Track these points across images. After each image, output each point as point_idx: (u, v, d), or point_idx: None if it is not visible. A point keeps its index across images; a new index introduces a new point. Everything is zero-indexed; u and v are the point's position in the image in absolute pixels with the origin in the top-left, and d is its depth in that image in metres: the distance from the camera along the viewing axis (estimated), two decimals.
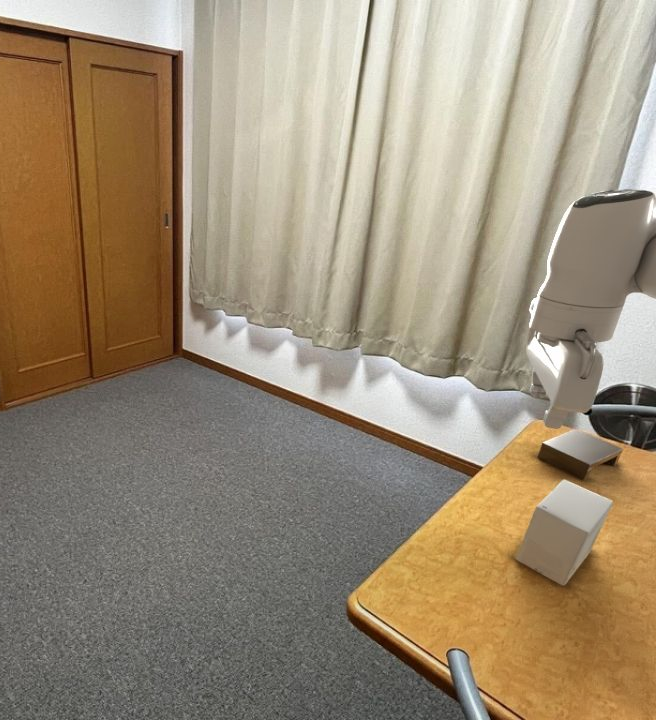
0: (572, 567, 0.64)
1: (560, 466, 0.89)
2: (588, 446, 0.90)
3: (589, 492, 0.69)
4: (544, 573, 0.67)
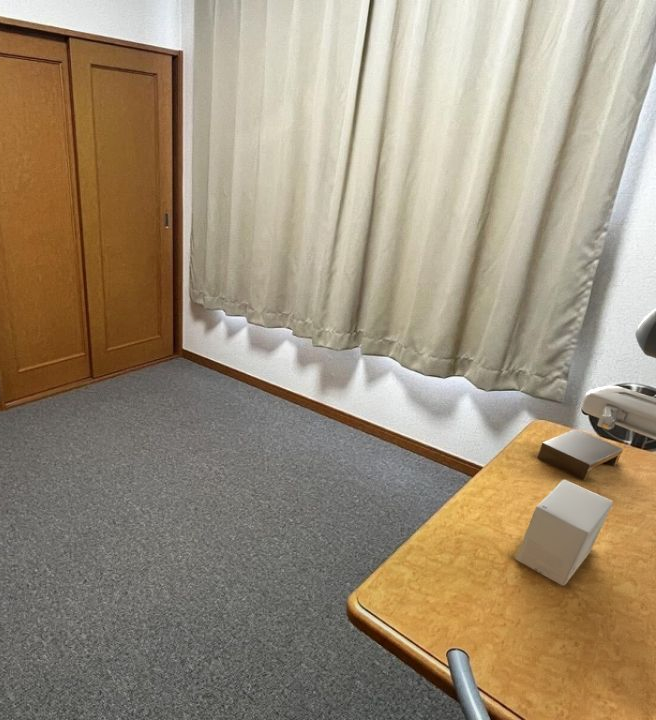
0: (572, 567, 0.64)
1: (560, 466, 0.89)
2: (588, 446, 0.90)
3: (589, 492, 0.69)
4: (544, 573, 0.67)
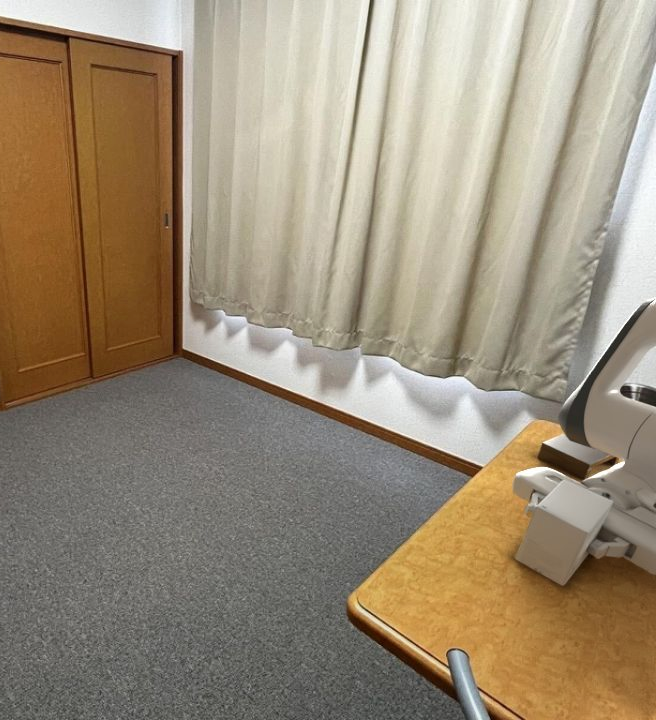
0: (572, 567, 0.64)
1: (560, 466, 0.89)
2: None
3: (589, 492, 0.69)
4: (544, 573, 0.67)
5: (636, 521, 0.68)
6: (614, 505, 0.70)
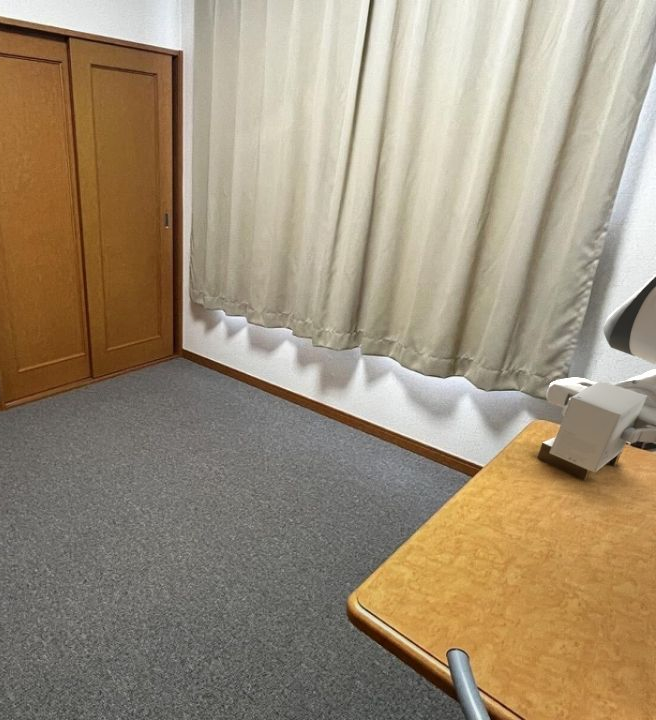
0: (604, 451, 0.70)
1: (560, 466, 0.89)
2: None
3: (624, 389, 0.74)
4: (578, 461, 0.73)
5: None
6: (645, 402, 0.76)
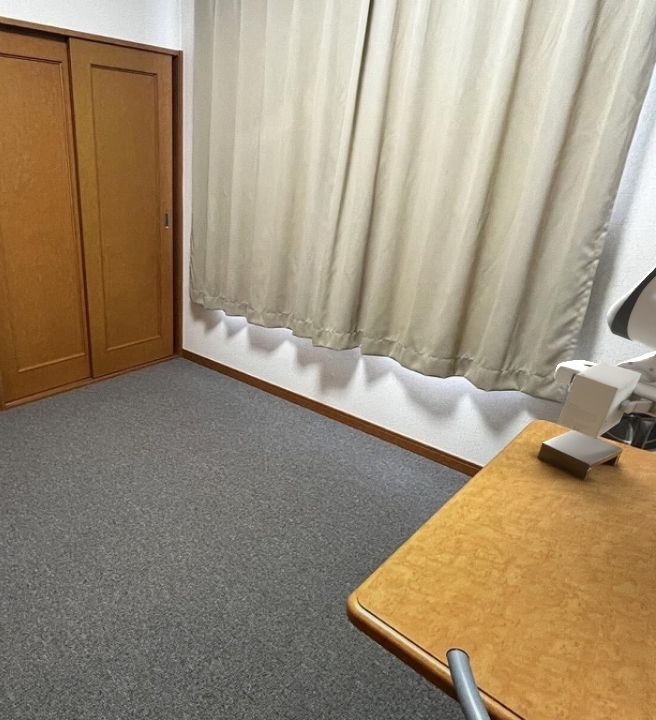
0: (604, 420, 0.82)
1: (560, 466, 0.89)
2: (588, 446, 0.90)
3: (621, 368, 0.86)
4: (581, 429, 0.85)
5: None
6: (640, 380, 0.88)
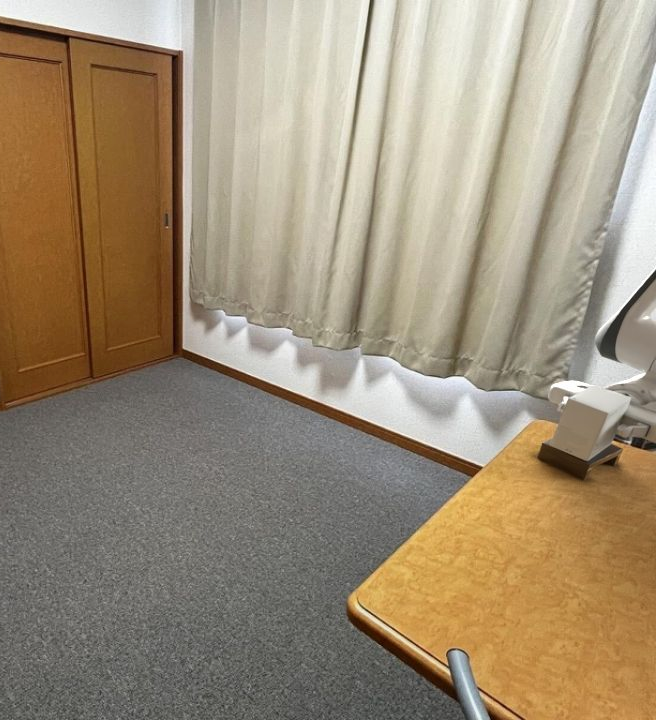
0: (595, 443, 0.84)
1: (560, 466, 0.89)
2: None
3: (612, 392, 0.88)
4: (573, 451, 0.87)
5: (649, 411, 0.87)
6: (632, 402, 0.90)
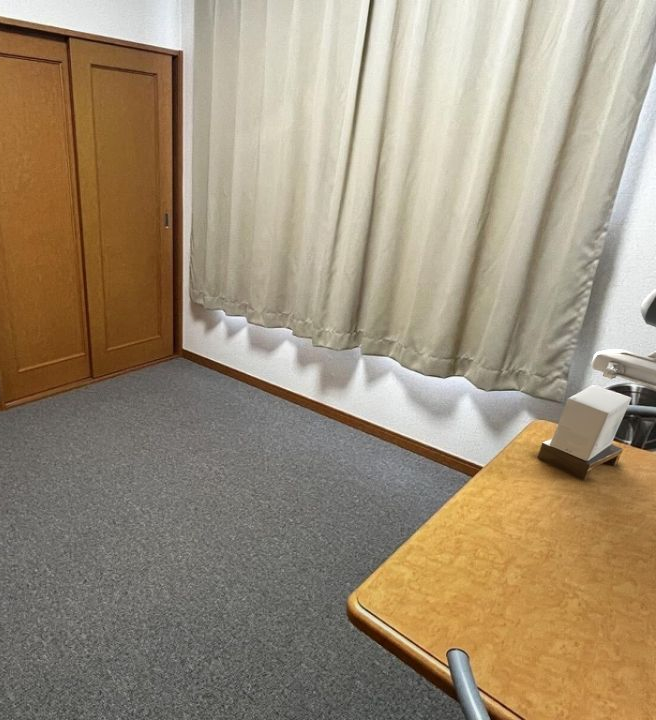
0: (595, 443, 0.84)
1: (560, 466, 0.89)
2: None
3: (612, 392, 0.88)
4: (573, 451, 0.87)
5: None
6: None
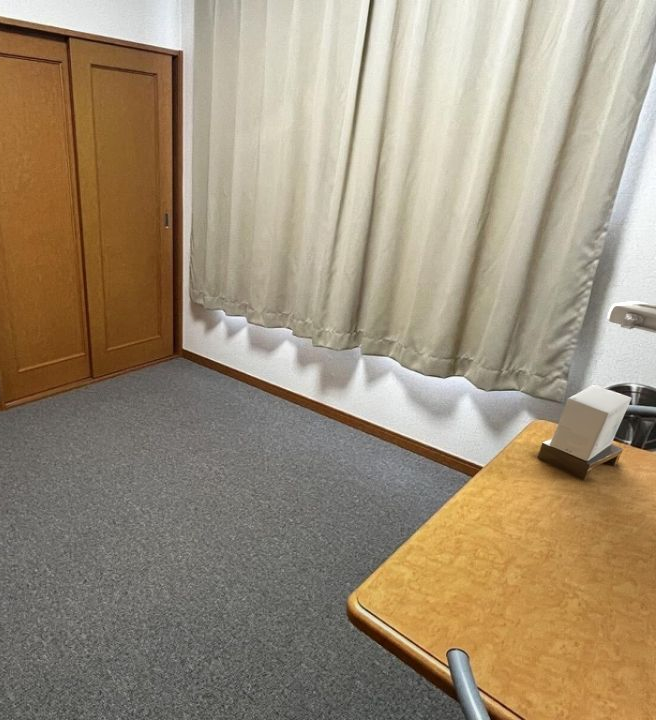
0: (595, 443, 0.84)
1: (560, 466, 0.89)
2: None
3: (612, 392, 0.88)
4: (573, 451, 0.87)
5: None
6: None
